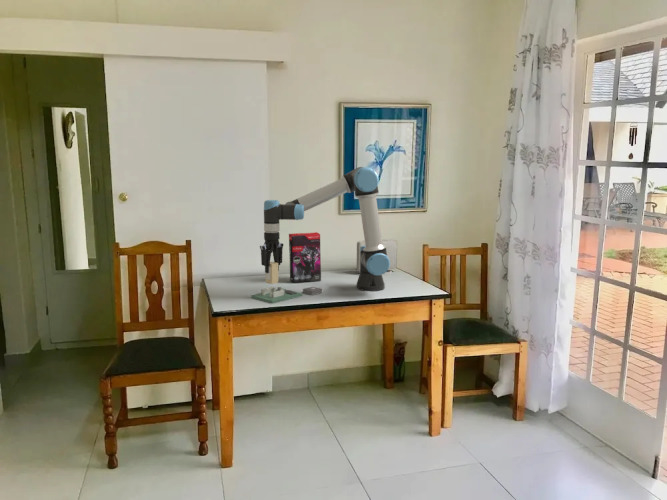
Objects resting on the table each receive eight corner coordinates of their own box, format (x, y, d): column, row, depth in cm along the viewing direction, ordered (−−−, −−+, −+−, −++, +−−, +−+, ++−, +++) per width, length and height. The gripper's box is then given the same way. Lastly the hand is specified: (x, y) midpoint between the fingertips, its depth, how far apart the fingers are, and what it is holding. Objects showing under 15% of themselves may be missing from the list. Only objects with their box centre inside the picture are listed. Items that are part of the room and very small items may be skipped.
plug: (278, 282, 265) (278, 262, 263) (272, 284, 262) (272, 264, 261) (270, 280, 269) (270, 261, 267) (264, 282, 266) (264, 262, 264)
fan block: (322, 292, 276) (322, 288, 275) (312, 295, 271) (312, 290, 270) (312, 290, 281) (312, 285, 280) (302, 292, 275) (302, 288, 275)
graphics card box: (292, 283, 296) (291, 234, 291) (288, 281, 302) (288, 233, 298) (321, 281, 302) (321, 233, 297) (317, 278, 308) (317, 232, 304)
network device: (360, 275, 316) (361, 242, 313) (354, 273, 324) (354, 240, 321) (398, 272, 326) (399, 240, 323) (391, 269, 334) (392, 238, 331)
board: (302, 295, 269) (302, 288, 269) (272, 303, 255) (272, 295, 254) (281, 290, 280) (281, 283, 279) (251, 297, 265) (251, 290, 265)
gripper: (279, 229, 270) (279, 274, 274) (253, 232, 257) (253, 279, 261) (289, 231, 265) (289, 277, 269) (263, 234, 252) (263, 282, 256)
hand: (272, 278), depth 265 cm, fingers closed on plug, 4 cm apart
